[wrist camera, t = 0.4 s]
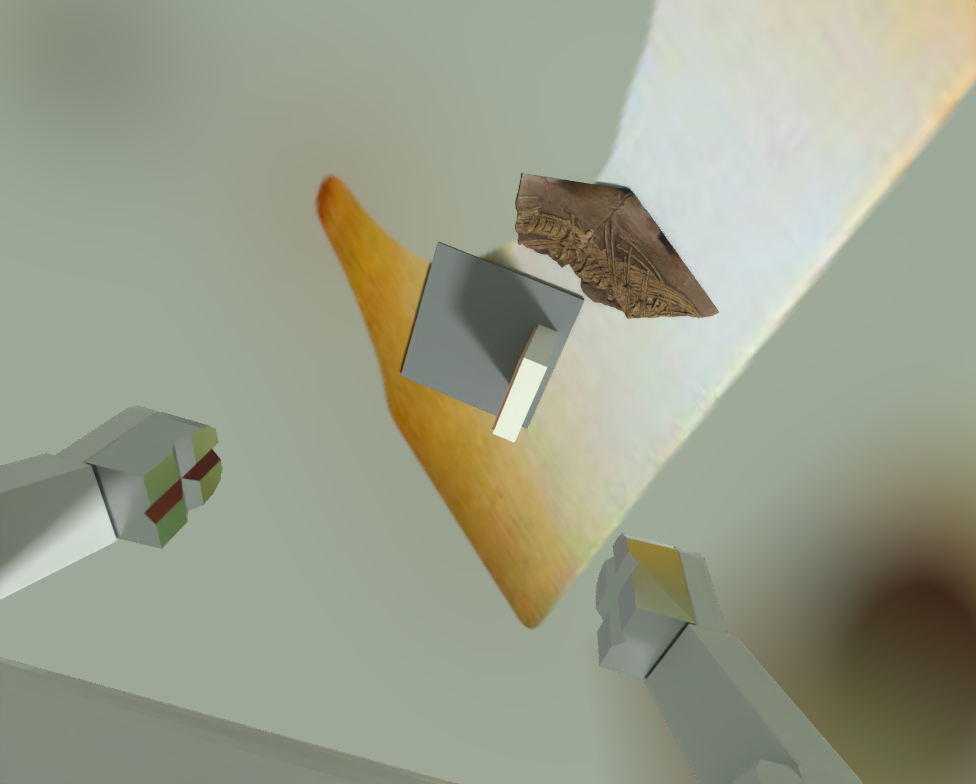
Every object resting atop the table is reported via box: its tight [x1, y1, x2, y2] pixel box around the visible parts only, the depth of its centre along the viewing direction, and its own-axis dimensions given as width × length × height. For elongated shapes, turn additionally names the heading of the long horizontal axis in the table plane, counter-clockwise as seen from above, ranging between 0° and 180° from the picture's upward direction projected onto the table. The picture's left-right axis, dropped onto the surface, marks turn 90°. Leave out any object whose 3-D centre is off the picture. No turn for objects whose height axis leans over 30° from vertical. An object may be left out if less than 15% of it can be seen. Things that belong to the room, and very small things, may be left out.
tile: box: [492, 324, 558, 442], centre depth 51 cm, size 9×3×12 cm, turn 161°
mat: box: [401, 242, 584, 428], centre depth 57 cm, size 18×18×1 cm
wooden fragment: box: [515, 173, 719, 319], centre depth 50 cm, size 26×11×1 cm, turn 56°
